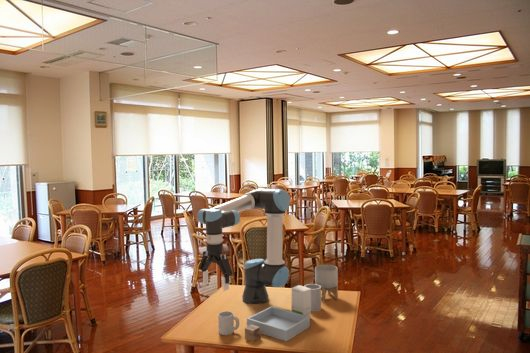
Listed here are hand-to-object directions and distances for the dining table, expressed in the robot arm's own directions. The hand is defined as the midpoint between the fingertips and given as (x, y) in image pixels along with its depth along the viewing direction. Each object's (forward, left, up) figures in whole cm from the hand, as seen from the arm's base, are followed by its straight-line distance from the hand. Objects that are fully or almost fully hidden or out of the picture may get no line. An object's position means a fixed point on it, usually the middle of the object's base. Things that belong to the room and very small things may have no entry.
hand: (215, 287), depth 203 cm
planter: (-72, +17, -23) cm, 78 cm away
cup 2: (-54, +19, -23) cm, 62 cm away
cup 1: (-5, +3, -23) cm, 24 cm away
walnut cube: (-7, +16, -23) cm, 29 cm away
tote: (-23, +19, -23) cm, 38 cm away
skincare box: (-40, +21, -23) cm, 51 cm away
